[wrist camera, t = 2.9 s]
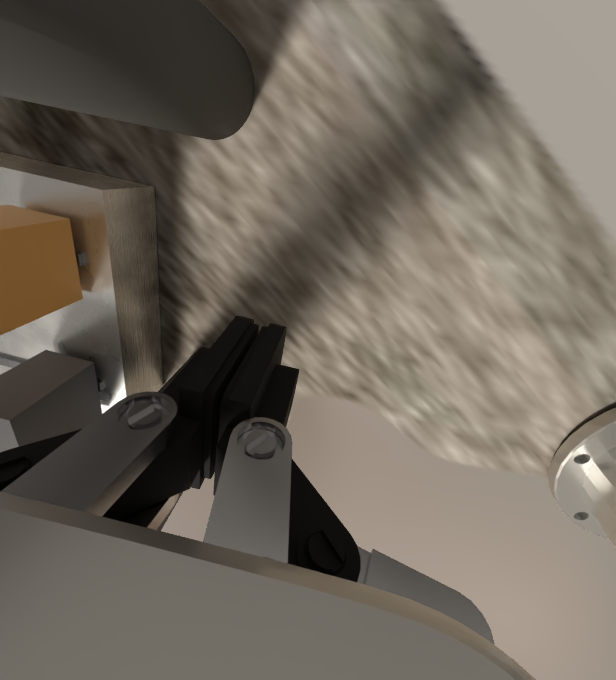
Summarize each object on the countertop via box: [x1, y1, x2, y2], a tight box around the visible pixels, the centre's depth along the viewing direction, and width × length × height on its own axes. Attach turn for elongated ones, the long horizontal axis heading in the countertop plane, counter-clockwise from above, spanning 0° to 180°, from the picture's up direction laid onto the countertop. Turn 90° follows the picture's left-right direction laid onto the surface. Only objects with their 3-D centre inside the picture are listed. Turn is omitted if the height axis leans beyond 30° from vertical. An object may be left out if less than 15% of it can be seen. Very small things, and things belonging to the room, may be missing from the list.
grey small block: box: [0, 350, 102, 452], centre depth 17 cm, size 3×4×5 cm
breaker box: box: [0, 152, 163, 414], centre depth 20 cm, size 12×14×4 cm
